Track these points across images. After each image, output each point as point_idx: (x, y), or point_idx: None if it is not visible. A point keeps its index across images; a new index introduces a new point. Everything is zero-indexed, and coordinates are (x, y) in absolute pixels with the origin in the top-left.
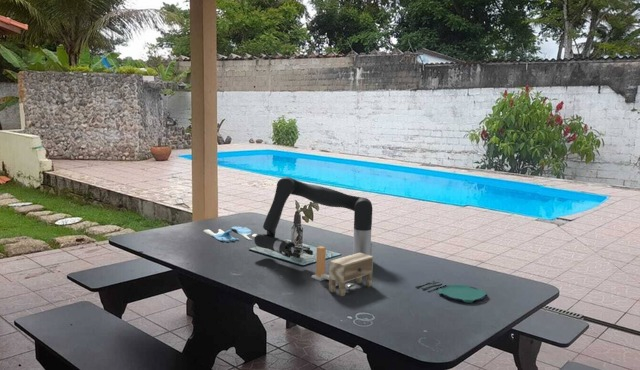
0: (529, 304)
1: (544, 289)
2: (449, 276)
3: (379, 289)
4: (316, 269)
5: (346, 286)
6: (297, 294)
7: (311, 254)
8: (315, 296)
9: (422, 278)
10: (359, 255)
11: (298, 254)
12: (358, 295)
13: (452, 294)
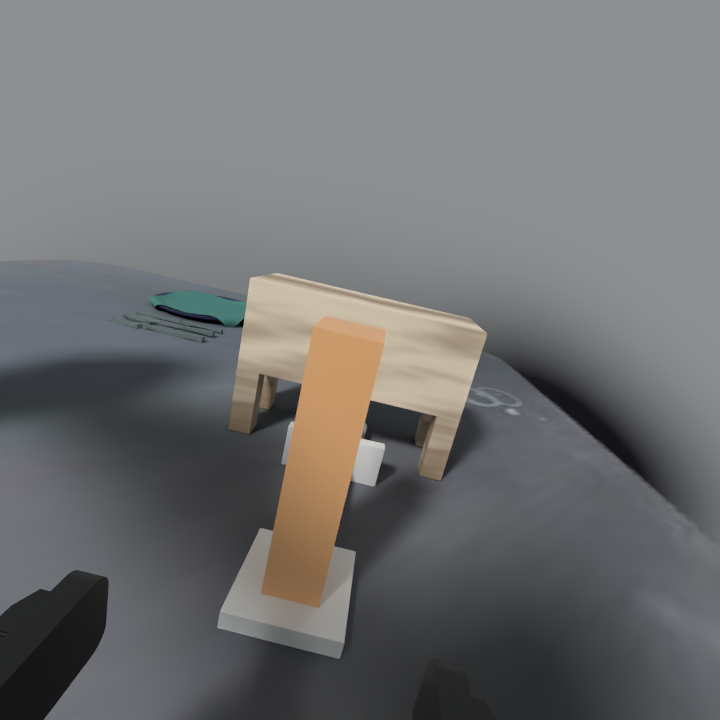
0: (204, 286)
1: (105, 266)
2: (39, 301)
3: (277, 386)
4: (331, 555)
5: (365, 430)
6: (618, 567)
7: (99, 632)
8: (532, 500)
9: (86, 328)
10: (301, 285)
11: (462, 679)
12: (378, 414)
13: (225, 314)
